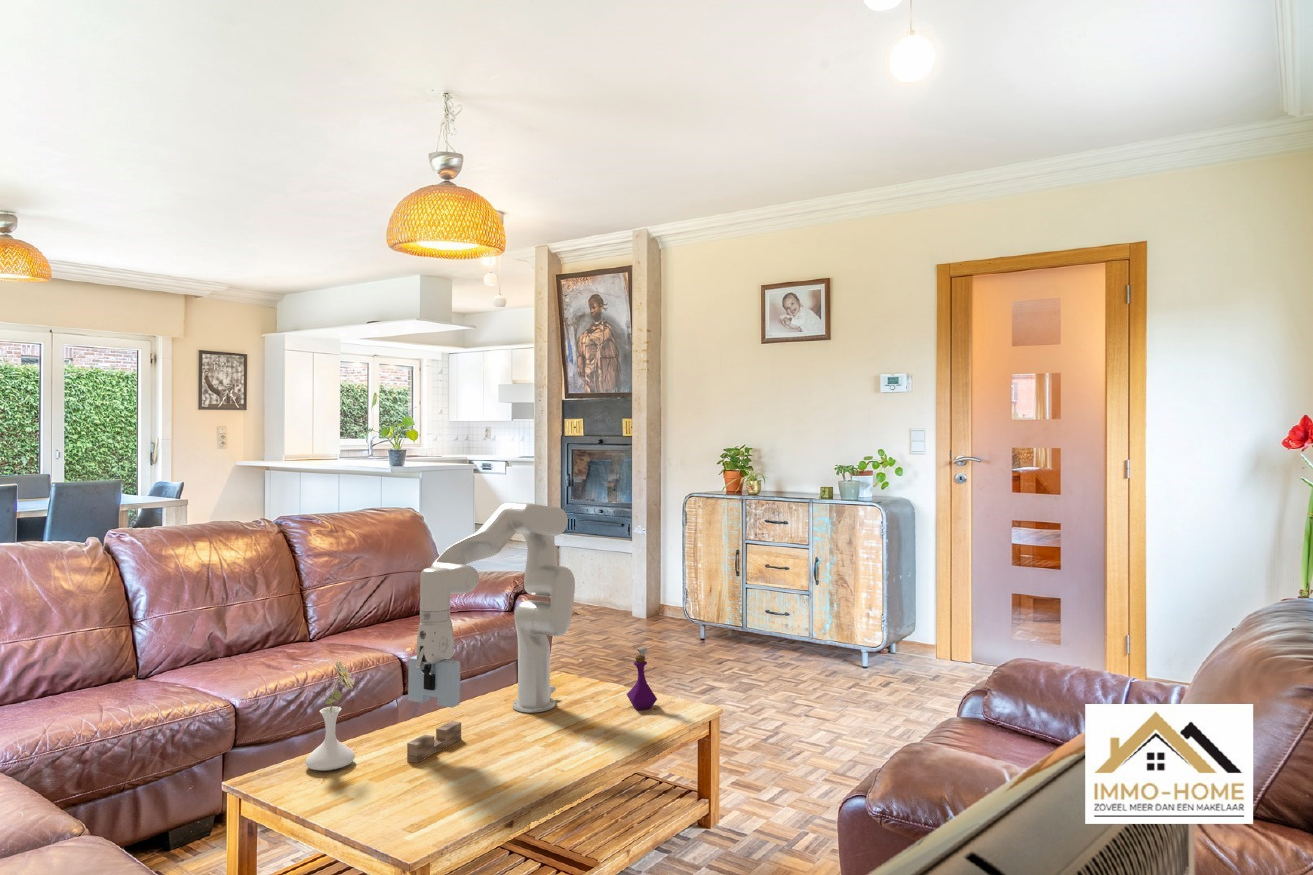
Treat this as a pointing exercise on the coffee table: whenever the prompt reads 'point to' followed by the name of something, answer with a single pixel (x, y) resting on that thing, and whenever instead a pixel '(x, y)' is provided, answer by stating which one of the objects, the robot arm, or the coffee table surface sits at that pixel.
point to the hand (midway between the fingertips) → (434, 686)
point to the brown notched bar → (433, 742)
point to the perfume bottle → (641, 686)
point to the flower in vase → (332, 732)
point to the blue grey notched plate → (444, 683)
